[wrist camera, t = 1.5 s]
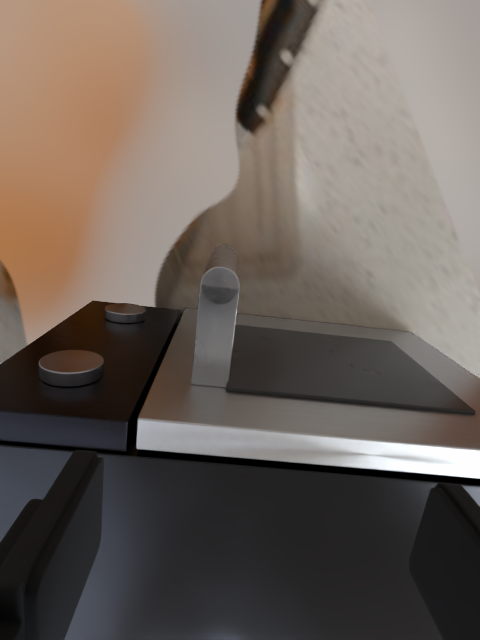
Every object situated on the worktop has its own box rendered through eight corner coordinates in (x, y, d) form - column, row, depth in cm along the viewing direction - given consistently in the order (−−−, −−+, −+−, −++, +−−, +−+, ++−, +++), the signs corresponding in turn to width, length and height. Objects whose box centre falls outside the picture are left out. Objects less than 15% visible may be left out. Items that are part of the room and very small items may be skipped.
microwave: (93, 291, 36) (-66, 390, 16) (413, 326, 37) (607, 452, 18) (89, 512, 42) (-27, 766, 23) (361, 533, 44) (463, 785, 25)
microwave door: (191, 236, 34) (144, 272, 16) (429, 264, 36) (655, 329, 17) (183, 324, 37) (135, 449, 18) (408, 347, 38) (587, 488, 19)
